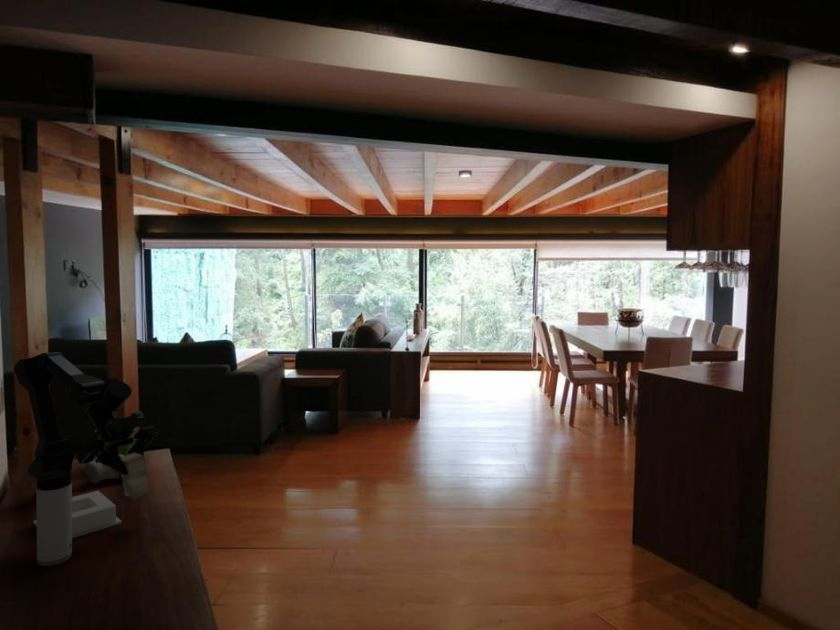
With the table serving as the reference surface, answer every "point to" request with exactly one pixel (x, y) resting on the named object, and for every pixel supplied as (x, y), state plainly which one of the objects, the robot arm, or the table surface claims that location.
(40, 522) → the travel mug
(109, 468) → the ceramic sculpture
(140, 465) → the birch peg
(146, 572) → the table surface
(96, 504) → the socket block
